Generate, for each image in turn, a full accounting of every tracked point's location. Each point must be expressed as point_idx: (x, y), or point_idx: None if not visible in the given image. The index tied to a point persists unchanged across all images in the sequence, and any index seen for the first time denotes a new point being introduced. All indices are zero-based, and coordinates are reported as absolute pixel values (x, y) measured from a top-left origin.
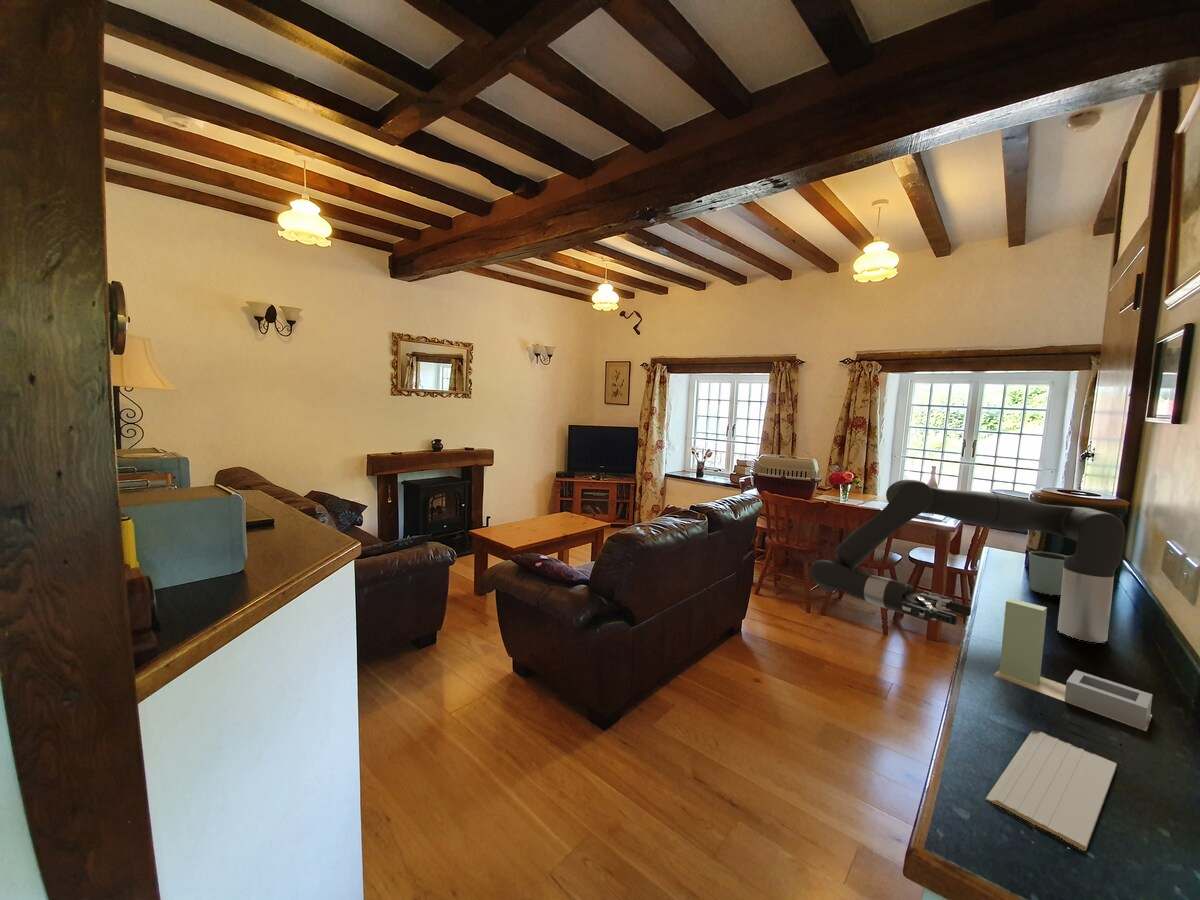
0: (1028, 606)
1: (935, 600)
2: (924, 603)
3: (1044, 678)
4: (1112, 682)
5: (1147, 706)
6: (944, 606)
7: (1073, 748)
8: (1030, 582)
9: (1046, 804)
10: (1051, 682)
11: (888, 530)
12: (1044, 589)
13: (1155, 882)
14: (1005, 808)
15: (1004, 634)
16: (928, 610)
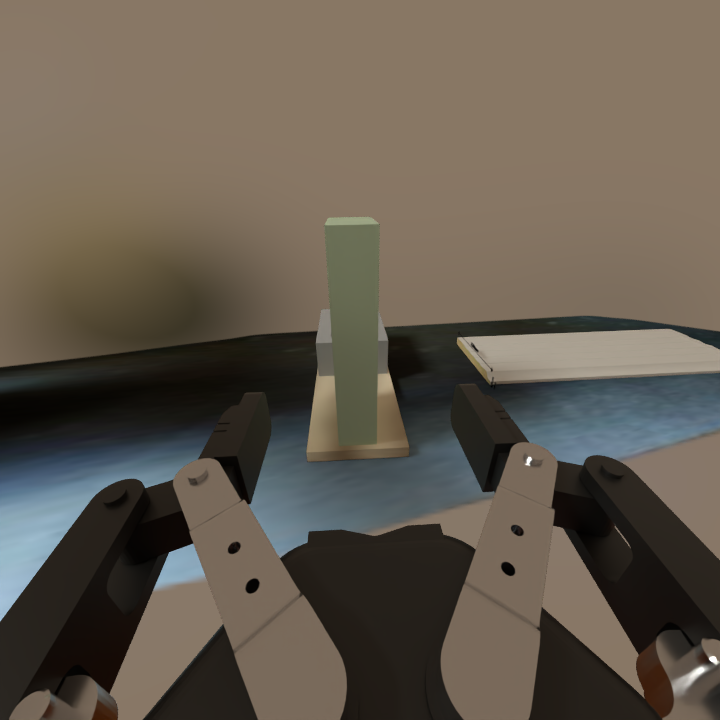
0: (369, 219)
1: (96, 655)
2: (551, 530)
3: (315, 400)
4: (323, 323)
5: None
6: (159, 573)
7: (519, 352)
8: None
9: (667, 345)
10: (324, 392)
11: None
12: None
13: (624, 319)
14: None
15: (376, 344)
16: (612, 464)
